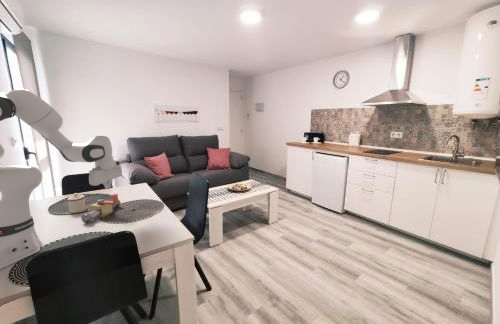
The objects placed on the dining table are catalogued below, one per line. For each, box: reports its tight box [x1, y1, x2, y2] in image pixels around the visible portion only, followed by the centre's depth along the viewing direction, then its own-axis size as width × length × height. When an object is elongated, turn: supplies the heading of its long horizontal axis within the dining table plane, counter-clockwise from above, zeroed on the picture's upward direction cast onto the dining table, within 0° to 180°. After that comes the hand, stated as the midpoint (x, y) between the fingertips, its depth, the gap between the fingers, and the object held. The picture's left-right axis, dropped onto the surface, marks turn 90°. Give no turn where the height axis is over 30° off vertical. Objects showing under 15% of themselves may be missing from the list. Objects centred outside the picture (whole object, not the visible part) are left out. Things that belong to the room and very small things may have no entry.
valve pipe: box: [81, 199, 122, 224], centre depth 134 cm, size 24×7×8 cm, turn 173°
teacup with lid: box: [66, 192, 87, 214], centre depth 140 cm, size 12×9×12 cm
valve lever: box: [96, 193, 120, 205], centre depth 131 cm, size 13×4×6 cm, turn 83°
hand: (108, 188), depth 124 cm, fingers closed
